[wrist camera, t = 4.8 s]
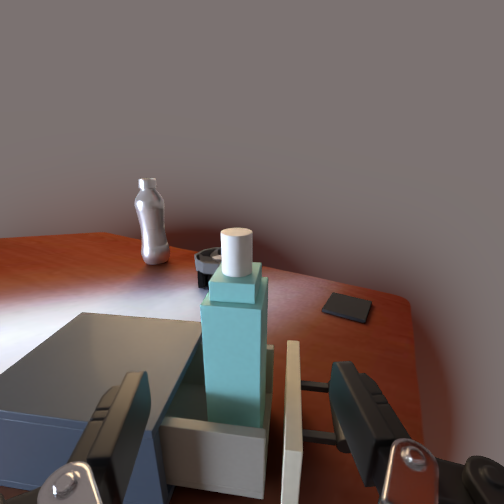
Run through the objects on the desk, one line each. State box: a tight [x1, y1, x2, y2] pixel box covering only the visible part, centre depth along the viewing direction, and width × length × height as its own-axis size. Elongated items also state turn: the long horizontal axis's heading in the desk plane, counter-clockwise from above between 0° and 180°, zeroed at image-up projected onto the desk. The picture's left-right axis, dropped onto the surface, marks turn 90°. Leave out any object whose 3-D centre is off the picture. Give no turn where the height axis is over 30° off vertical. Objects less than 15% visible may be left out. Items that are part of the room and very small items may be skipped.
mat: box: [322, 292, 372, 323], centre depth 49 cm, size 7×7×1 cm
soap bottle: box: [200, 228, 268, 429], centre depth 23 cm, size 4×5×18 cm
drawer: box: [158, 340, 351, 504], centre depth 25 cm, size 18×11×7 cm, turn 82°
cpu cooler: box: [195, 248, 222, 288], centre depth 59 cm, size 10×6×10 cm
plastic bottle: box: [135, 178, 170, 265], centre depth 66 cm, size 6×7×20 cm
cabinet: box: [0, 312, 202, 504], centre depth 27 cm, size 15×13×9 cm
